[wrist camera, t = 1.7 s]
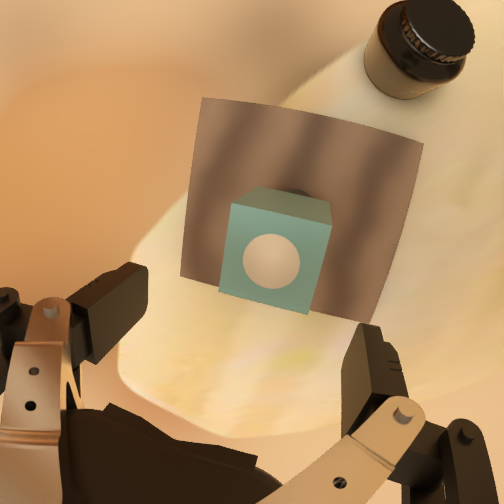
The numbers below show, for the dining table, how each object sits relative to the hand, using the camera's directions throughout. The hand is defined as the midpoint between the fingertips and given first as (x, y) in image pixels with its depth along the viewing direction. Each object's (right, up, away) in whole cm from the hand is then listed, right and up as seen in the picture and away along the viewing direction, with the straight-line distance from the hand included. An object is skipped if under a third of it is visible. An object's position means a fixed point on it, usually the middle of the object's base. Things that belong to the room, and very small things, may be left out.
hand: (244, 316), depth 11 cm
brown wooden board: (+4, +6, +18) cm, 20 cm away
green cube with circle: (+3, +4, +12) cm, 13 cm away
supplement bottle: (+14, +19, +12) cm, 26 cm away
